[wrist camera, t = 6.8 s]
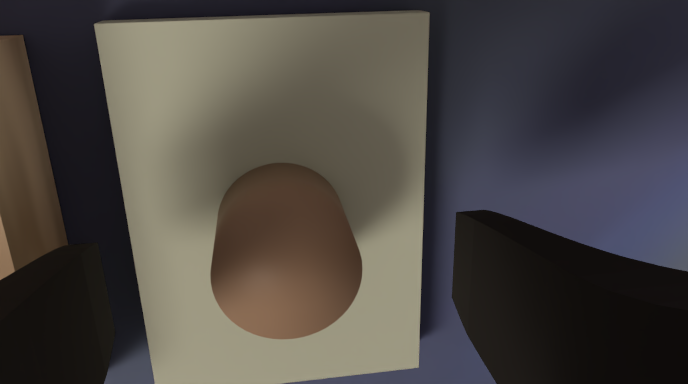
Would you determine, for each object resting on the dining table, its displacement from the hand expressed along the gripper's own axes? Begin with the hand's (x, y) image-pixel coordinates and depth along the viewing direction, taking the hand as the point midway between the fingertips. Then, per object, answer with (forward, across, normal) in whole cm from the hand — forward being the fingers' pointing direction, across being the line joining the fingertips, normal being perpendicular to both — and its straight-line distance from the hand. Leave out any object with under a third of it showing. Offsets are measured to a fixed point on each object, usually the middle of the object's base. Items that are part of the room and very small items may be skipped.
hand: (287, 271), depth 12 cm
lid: (+4, 0, 0) cm, 4 cm away
